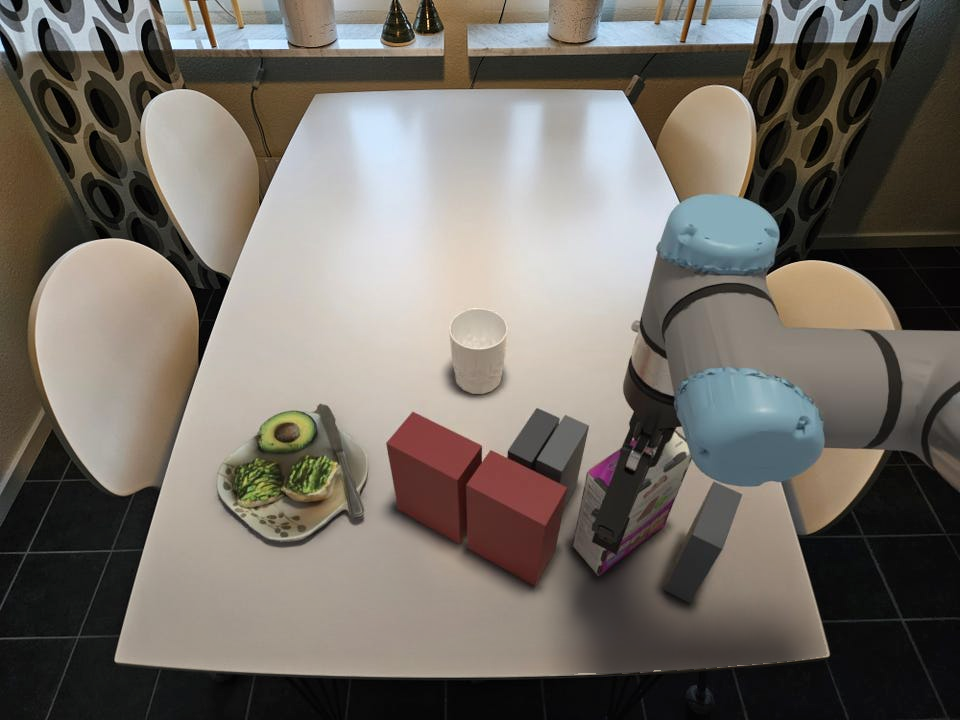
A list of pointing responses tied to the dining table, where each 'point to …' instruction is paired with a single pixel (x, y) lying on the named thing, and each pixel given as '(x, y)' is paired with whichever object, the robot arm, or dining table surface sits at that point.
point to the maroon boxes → (476, 496)
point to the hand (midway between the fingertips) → (630, 495)
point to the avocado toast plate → (294, 475)
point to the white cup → (478, 349)
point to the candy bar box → (646, 509)
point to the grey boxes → (560, 460)
